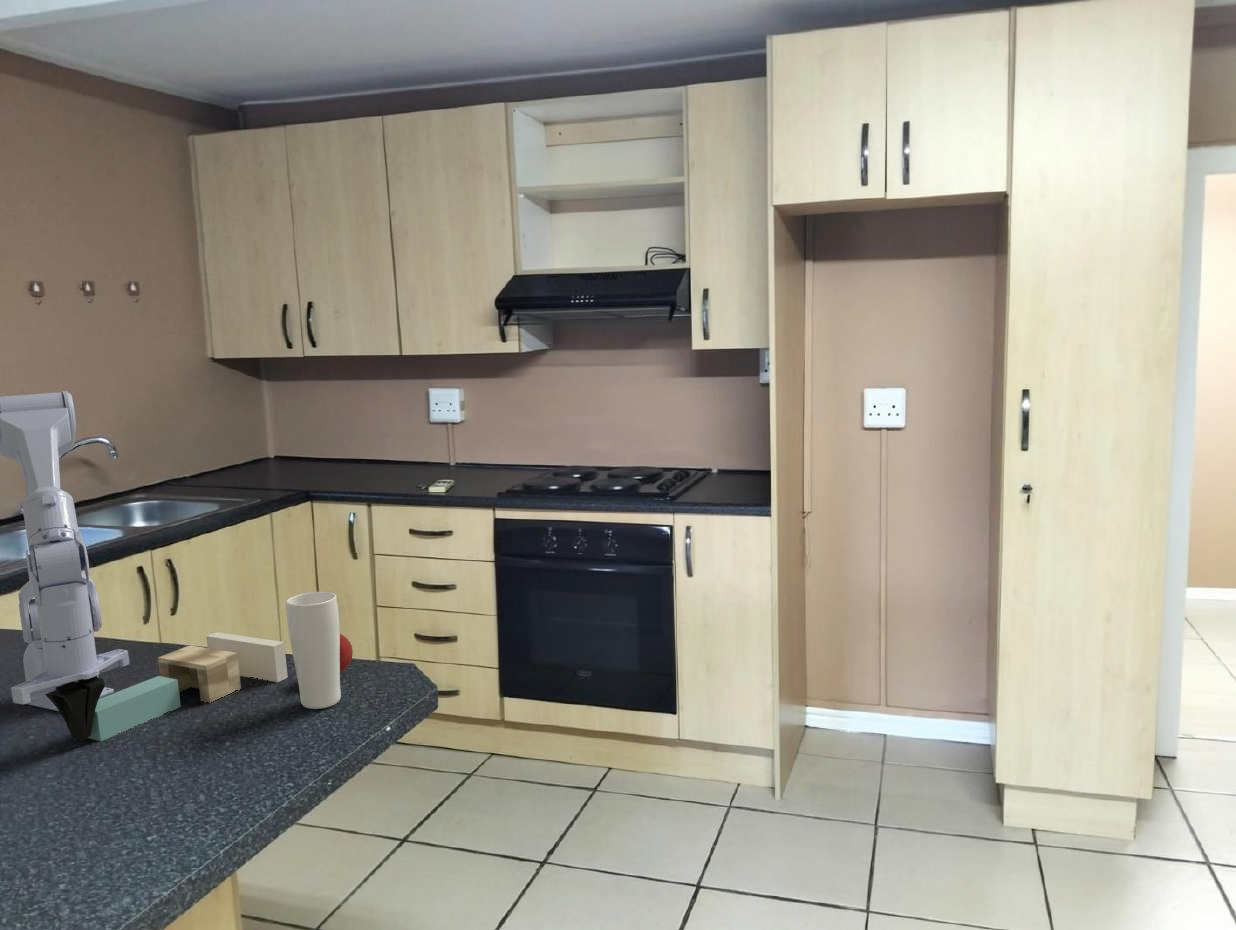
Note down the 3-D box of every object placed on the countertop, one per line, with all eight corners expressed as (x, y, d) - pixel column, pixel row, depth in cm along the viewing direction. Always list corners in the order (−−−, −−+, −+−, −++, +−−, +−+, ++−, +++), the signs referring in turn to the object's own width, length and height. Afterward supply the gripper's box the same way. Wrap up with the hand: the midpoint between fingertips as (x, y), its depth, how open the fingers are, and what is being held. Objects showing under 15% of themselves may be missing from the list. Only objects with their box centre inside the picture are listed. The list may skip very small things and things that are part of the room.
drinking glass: (308, 717, 133) (297, 608, 130) (287, 703, 138) (277, 599, 135) (355, 702, 137) (345, 597, 135) (333, 689, 142) (323, 588, 140)
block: (162, 694, 143) (157, 657, 142) (193, 680, 148) (189, 645, 147) (210, 703, 139) (206, 665, 138) (241, 689, 144) (237, 652, 143)
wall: (210, 670, 152) (206, 636, 151) (220, 666, 154) (216, 632, 153) (277, 682, 146) (273, 646, 145) (287, 677, 148) (284, 642, 147)
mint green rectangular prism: (81, 736, 130) (77, 707, 129) (161, 702, 140) (158, 675, 139) (101, 741, 128) (97, 712, 127) (180, 707, 138) (177, 679, 138)
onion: (343, 686, 143) (338, 633, 142) (306, 685, 144) (301, 632, 143) (361, 671, 149) (356, 620, 148) (325, 670, 150) (320, 619, 149)
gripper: (31, 657, 117) (47, 766, 119) (139, 620, 129) (151, 719, 132) (-5, 650, 120) (10, 756, 122) (103, 615, 133) (116, 711, 135)
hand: (81, 736), depth 127 cm, fingers closed
